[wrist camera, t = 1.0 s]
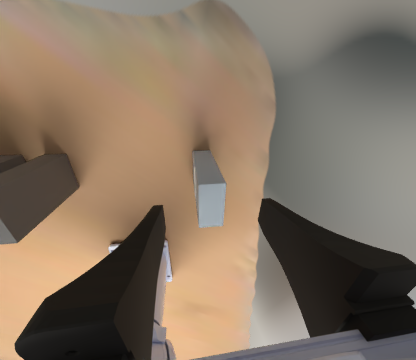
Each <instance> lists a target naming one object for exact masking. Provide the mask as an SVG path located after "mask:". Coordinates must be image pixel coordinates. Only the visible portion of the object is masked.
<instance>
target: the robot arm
mask: <svg viewBox="0 0 416 360" xmlns="http://www.w3.org/2000/svg"><path fill="white" fill-rule="evenodd" d="M258 222H259V224H260V227H261V229H262V232H263V234H264V236H265V237H266V239H267V241H268V242H269V244H270V246H271V248H272V249H273V251H274V253H275V254H276V256H277V258H278V260H279V262H280V264H281V265H282V267H283V270H284V272H285V274H286V276H287V279H288V281H289V283H290V286H291V288H292V290H293V292H294V295H295V298H296V300H297V303H298V305H299V308H300V310H301V313H302V316H303V319H304V321H305V324H306V327H307V330H308V333H309V335H310V338H307V339H301V340H296V341H290V342H285V343H279V344H274V345H268V346H263V347H257V348H252V349H246V350H241V351H235V352H230V353H224V354H219V355H213V356H208V357H202V358H197V359H191V360H416V309H415V308H414V307H413V306H412V305H413V304H414V301H413V300H412V299H411V298H410V297H409V296H407V294H408V293H409V292H410V291H411V290H412V289H413V288H414V287H415V286H416V264H414V263H413V262H412V261H410V260H409V259H408V258H406V257H405V256H403V255H401V254H397V253H394V252H390V251H386V250H383V249H380V248H376V247H372V246H370V245H367V244H364V243H360V242H357V241H355V240H352V239H349V238H346V237H344V236H341V235H339V234H336V233H334V232H332V231H329V230H327V229H325V228H323V227H321V226H318V225H316V224H314V223H312V222H310V221H308V220H307V219H305V218H303V217H301V216H299V215H298V214H296V213H294V212H293V211H291V210H289V209H288V208H286V207H284V206H283V205H281V204H279V203H278V202H276V201H274V200H272V199H270V198H267V199H262V202H261V207H260V212H259V217H258ZM165 231H166V226H165V218H164V211H163V205H156V206H153V207H152V208H151V209H150V211H149V212H148V213H147V215H146V216H145V217H144V219H143V220H142V221H141V222H140V224H139V225H138V226H137V227H136V228H135V229H134V231H133V232H132V233H131V234H130V235H129V236H128V237H127V238H126V239H125V240H124V241H123V242H122V243H120V244H111V245H110V246H109V247H108V249H109V252H110V254H109V255H108V256H106V257H105V258H104V259H103V260H101V261H100V262H99V263H98V264H96V265H95V266H94V267H92V268H91V269H90V270H88V271H87V272H85V273H84V274H83V275H81V276H80V277H78V278H77V279H75V280H74V281H72V282H71V283H69V284H68V285H66V286H65V287H63V288H61V289H60V290H58V291H57V292H55V293H54V294H52V295H50V296H49V297H47V298H45V300H44V301H43V302H42V304H41V305H40V306H39V308H38V309H37V311H36V312H35V314H34V315H33V317H32V318H31V320H30V321H29V323H28V324H27V326H26V327H25V329H24V330H23V332H22V333H21V335H20V336H19V338H18V339H17V341H16V342H15V350H16V352H17V354H18V355H19V356H20V357H22V358H23V359H24V360H176V355H175V351H174V348H173V345H172V343H171V341H170V340H168V339H166V327H161V325H162V321H163V311H164V300H165V289H166V282H170V281H172V271H171V263H170V256H169V248H168V241H167V240H165ZM164 245H165V246H164Z"/></svg>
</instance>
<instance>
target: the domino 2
mask: <svg viewBox="0 0 416 360" xmlns="http://www.w3.org/2000/svg"><path fill="white" fill-rule="evenodd" d="M193 182H194V191H195V199H196V207H197V215H198V224H199V228H203V227H215V226H223V220H224V207H225V194H226V182H225V180H224V178H223V176H222V174H221V172H220V170H219V167H218V165H217V163H216V161H215V159H214V157H213V155H212V153H211V151H210V150H206V151H193Z"/></svg>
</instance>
